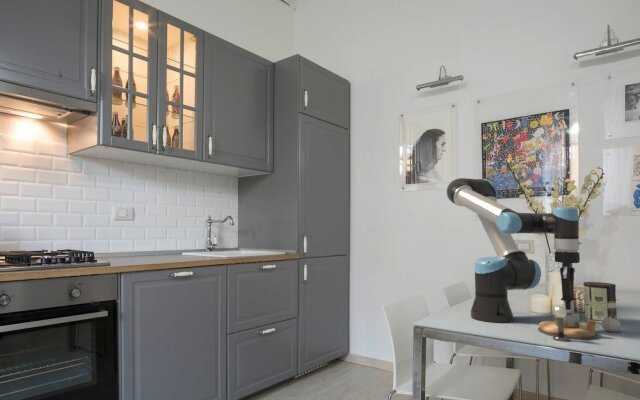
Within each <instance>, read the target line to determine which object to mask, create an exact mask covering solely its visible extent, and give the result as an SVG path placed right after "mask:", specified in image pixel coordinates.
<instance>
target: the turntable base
mask: <svg viewBox="0 0 640 400" xmlns="http://www.w3.org/2000/svg"><path fill="white" fill-rule="evenodd" d="M537 331H538V332H539V333H542V334H544V335H547V336H550V337H553V334H549V333H546V332H543V331H541V330H540V326H539V327H538V328H537ZM597 338H598V335H597V333H595V336H594V337H591V338H572V337H569V340H579V341H581V340H584V341H585V340H587V341H588V340H589V341H590V340H595V339H597Z"/></svg>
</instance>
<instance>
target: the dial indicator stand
mask: <svg viewBox="0 0 640 400" xmlns="http://www.w3.org/2000/svg"><path fill="white" fill-rule="evenodd" d="M552 314H553V316H554V317H557V318H558V335H553V336H552V339H553V340H554V341H558V342H569V341H570V339H569V337H566V336H564V324H563V318H564V317H565V316H566V314H567V312H566V310H565V309H564V306H563V307H562V306H556V307H554V308H553V310H552Z"/></svg>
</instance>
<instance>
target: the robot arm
mask: <svg viewBox="0 0 640 400" xmlns="http://www.w3.org/2000/svg"><path fill="white" fill-rule="evenodd" d="M498 195H499V194H498V188H497V185H496V184H495V183H494V182H493V181H492V180H489V179H484V178H477V179H476V178H465V177H464V178H463V177H460V178H455V179H453V180H451V182H449V184H448V186H447V188H446V196H447V198H448V200H449V201H451V203H453V204H454V205H457V206H458V207H465V208H466V209H468V210H470V211H471V212H473V213H475V214H476V215H477V216H478V219H479V220H480V223H481V225H482V227H483V228H484V229H483V230H484V231H485V233H486V235H487V238H488V239H489V241H490V243H491V245H492V248H493V250H494V252H495V254H496V256H483V257H480V258H477V259H476V260H475V262H474V270H473V271H474V300H473V303H472V306H471V309H470V318H471V319H474V320H478V321H482V322H483V321H484V322H490V323H509V322H513V321H514V313H513V311H512V308H511V305H510V302H509V298H508V291H515V290H517V291H520V290H522V291H523V290H531V289H534V288H535V287H537V286H538V285H539V283H540V281H541V277H542V270H541V267H540V264H539V263H538V262H537V261H536V260H534V259H531V258H530V259H529V258H528V255H527V254H526V252H525V251H524V250H521V249H519V247H518V246H517V244H516V241H515V240H514V237H513V236H512V235H513V234H536V235H538V234H540V235H541V234H543V235H544V234H552V235H553V237H554V239H553V249H554V262H556V263H562V265H561V267H560V268H559V273H560V274H559V275H560V281H561V293H562V295H561V298H560V301H563V308H564V309H571V310H572V313H574V301H576V298H574V297H575V293H574V288H575V287H574V286H575V284H574V283H575V282H574V281H575V272H576V270H575V269H576V267H573V264H579V263H581V259H580V257H581V255H580V252H579V251H580V245H582V242H581V241H580V237H579V236H580V234H579V232H580V231H579V230H580V226H579V224H580V218H579V211H578V208H577V207H574V206H556V207H554V208H553V211H552V212H551V213H547V212H546V213H544V212H543V213H540V212H538V213H536V212H518V211H515V210H513V209H511V208H509V207H508V206H505V205H503V204H502V203H500V202H498Z"/></svg>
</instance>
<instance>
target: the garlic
mask: <svg viewBox="0 0 640 400" xmlns="http://www.w3.org/2000/svg"><path fill="white" fill-rule="evenodd" d="M601 326H602V328H603V329H604V331H606V332H611V333H617V332H619V331H621V328H622V324H621V322H620V321H619V320H618V318H617V319H614V318H611V316H609V318H605V319H603V321H602V323H601Z"/></svg>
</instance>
